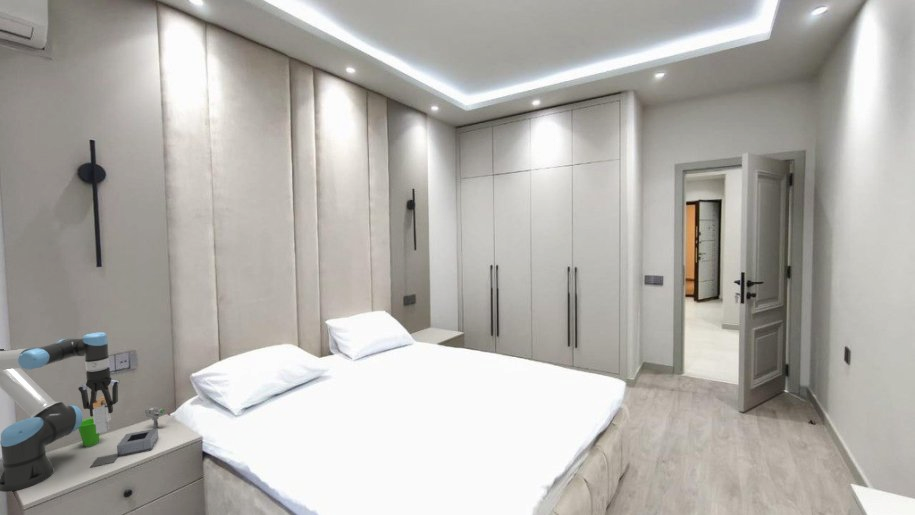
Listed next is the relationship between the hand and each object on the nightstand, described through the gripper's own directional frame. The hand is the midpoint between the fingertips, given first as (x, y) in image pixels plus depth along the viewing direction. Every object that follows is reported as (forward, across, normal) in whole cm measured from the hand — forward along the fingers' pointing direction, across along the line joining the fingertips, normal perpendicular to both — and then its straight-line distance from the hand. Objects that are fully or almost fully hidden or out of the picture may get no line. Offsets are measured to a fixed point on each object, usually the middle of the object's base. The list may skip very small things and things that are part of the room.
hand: (102, 421), depth 172 cm
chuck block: (+17, +10, +7) cm, 21 cm away
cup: (+18, -12, +22) cm, 31 cm away
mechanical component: (+18, +12, +27) cm, 34 cm away
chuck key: (+4, 0, 0) cm, 4 cm away
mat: (+17, 0, 0) cm, 17 cm away
